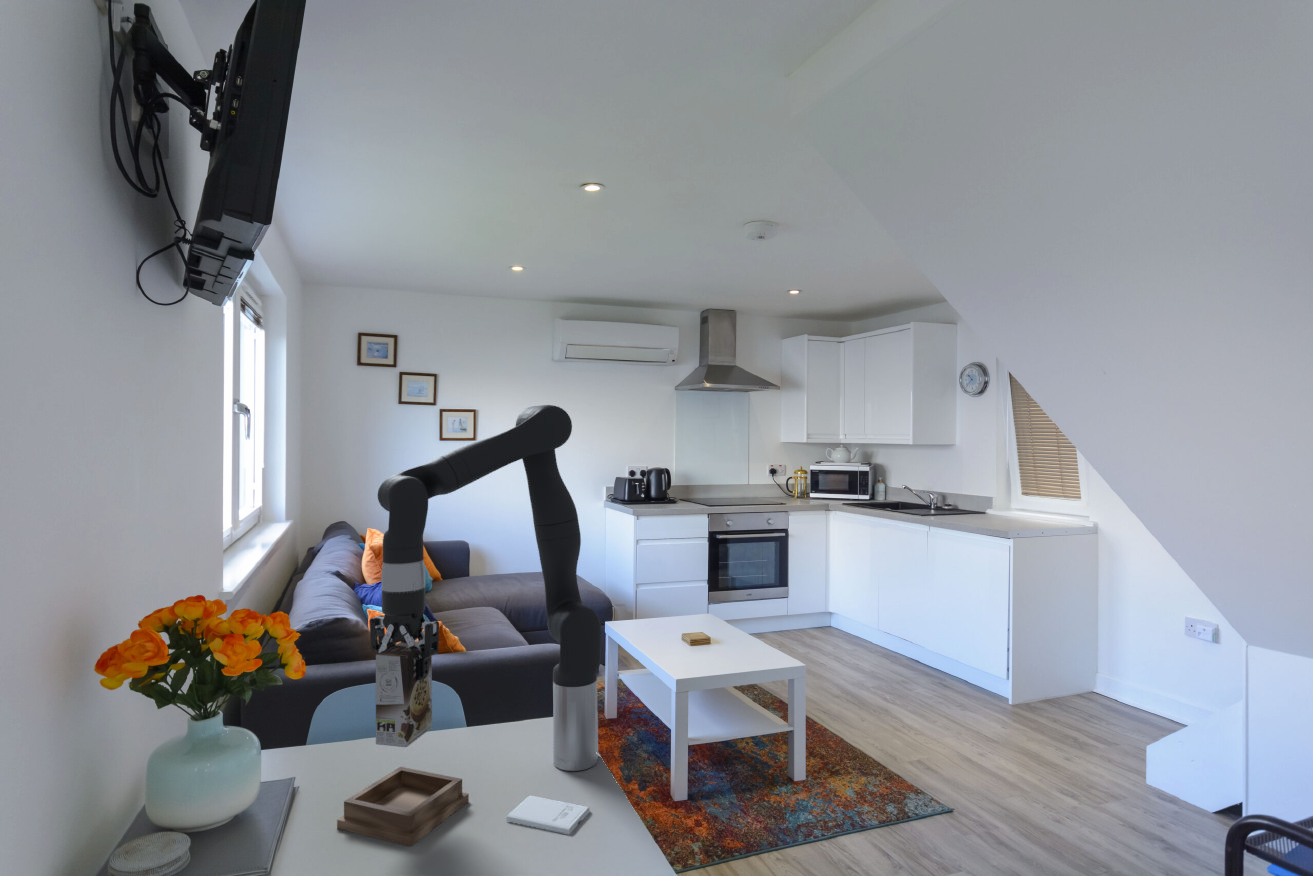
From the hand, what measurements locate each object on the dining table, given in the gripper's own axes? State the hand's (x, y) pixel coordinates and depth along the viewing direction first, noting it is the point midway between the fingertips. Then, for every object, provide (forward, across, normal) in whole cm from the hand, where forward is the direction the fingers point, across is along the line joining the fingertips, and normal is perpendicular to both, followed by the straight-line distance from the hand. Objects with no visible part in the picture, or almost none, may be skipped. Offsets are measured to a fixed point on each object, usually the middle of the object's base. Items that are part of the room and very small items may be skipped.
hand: (404, 676), depth 133 cm
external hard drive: (+26, -25, -8) cm, 37 cm away
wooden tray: (+25, 0, 0) cm, 25 cm away
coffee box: (+11, 0, 0) cm, 11 cm away
